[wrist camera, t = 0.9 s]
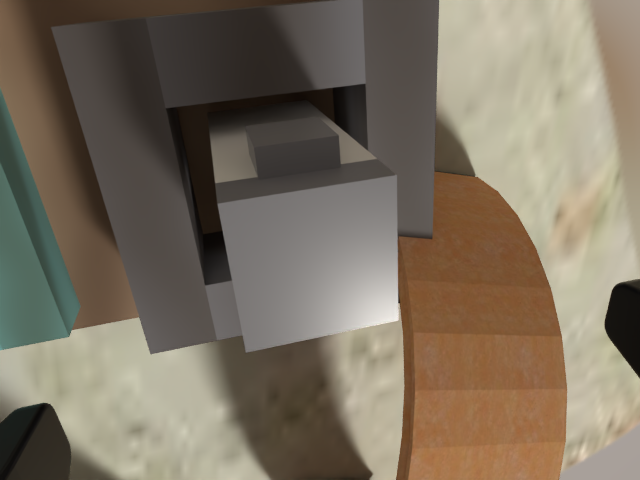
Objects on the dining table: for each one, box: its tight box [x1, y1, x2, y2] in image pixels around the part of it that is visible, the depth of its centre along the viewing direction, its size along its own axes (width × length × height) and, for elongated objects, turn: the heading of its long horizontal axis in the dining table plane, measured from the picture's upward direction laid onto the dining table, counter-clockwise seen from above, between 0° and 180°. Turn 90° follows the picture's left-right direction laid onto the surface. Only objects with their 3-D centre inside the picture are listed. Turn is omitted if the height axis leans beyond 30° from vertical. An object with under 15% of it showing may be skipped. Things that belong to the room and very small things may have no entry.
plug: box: [207, 100, 398, 353], centre depth 14 cm, size 4×4×9 cm
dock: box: [0, 0, 439, 354], centre depth 16 cm, size 24×12×5 cm, turn 95°
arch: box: [396, 171, 567, 480], centre depth 20 cm, size 6×20×10 cm, turn 168°
